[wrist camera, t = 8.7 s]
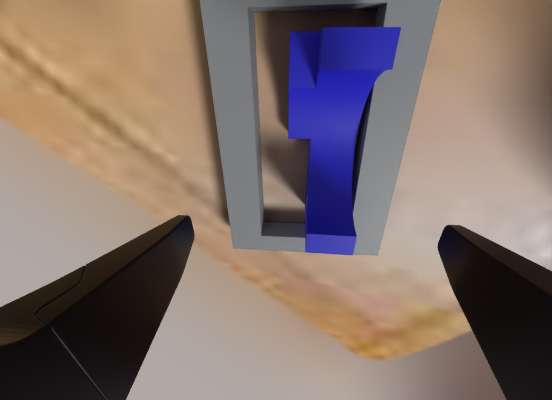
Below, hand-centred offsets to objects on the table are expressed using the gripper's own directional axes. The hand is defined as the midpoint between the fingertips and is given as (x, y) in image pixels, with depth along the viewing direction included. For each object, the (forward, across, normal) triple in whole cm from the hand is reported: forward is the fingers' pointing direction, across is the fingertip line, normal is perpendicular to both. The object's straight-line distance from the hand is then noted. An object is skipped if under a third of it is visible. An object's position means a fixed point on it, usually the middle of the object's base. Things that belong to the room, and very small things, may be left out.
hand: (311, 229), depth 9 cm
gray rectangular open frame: (+11, 0, 0) cm, 11 cm away
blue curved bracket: (+11, -1, 0) cm, 11 cm away
